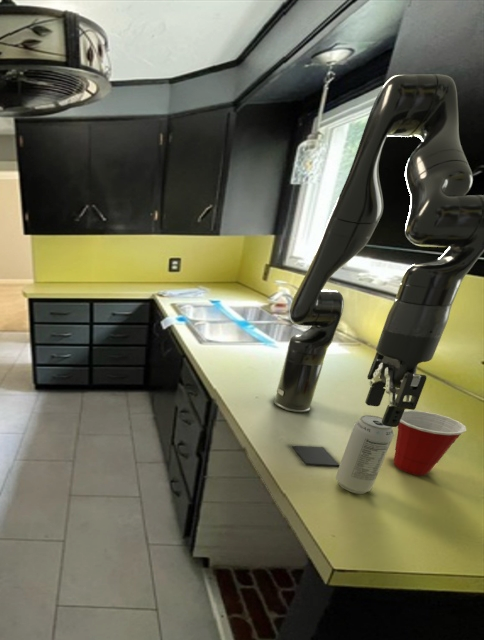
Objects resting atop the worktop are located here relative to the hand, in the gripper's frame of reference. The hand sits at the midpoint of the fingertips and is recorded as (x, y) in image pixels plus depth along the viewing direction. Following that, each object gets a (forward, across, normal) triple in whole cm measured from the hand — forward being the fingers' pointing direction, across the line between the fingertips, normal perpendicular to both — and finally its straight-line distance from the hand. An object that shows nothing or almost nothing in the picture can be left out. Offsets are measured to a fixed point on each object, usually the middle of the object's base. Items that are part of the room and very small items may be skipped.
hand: (379, 414), depth 67 cm
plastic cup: (+17, +12, -14) cm, 25 cm away
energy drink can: (+17, 0, 0) cm, 17 cm away
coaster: (+16, +9, +5) cm, 19 cm away
